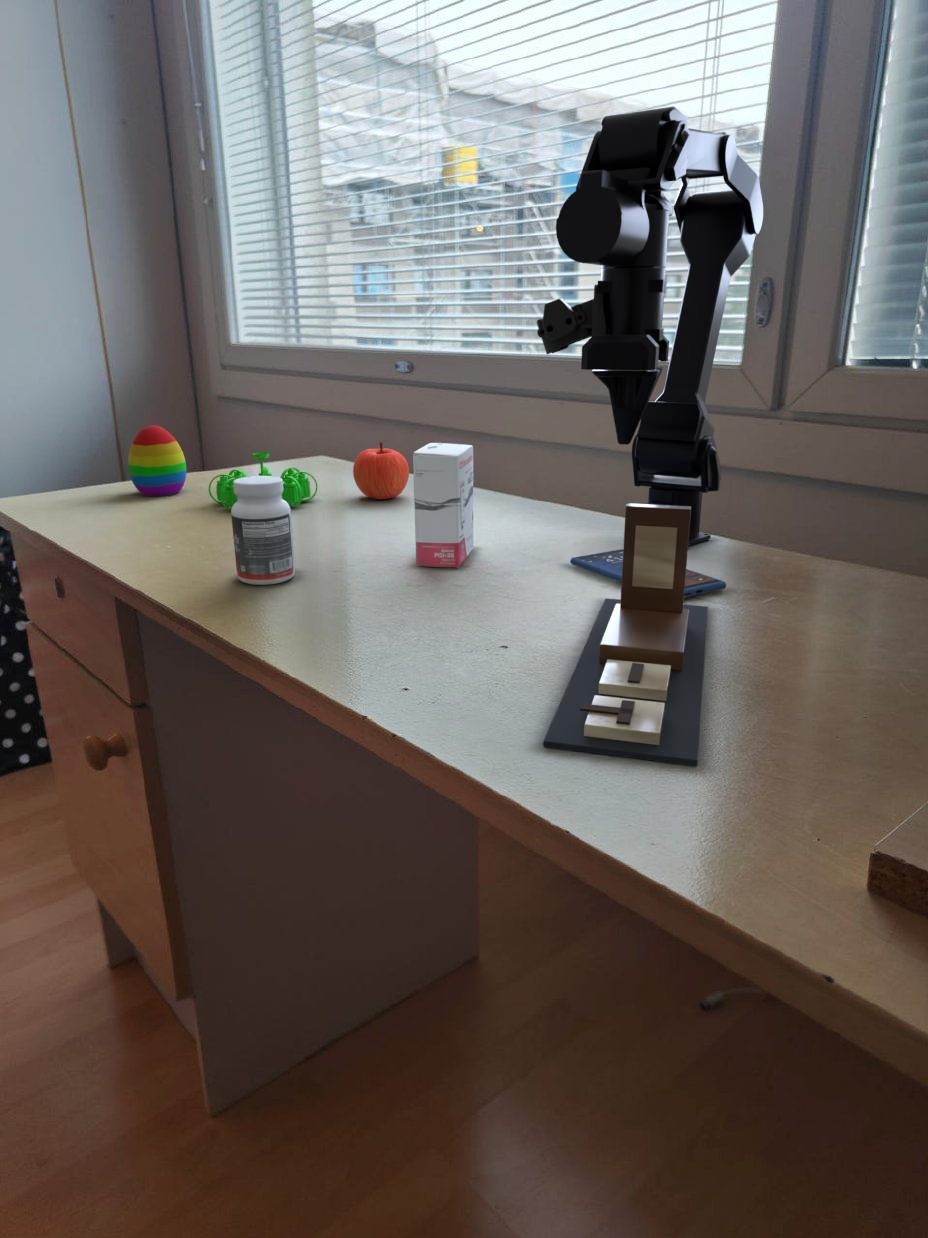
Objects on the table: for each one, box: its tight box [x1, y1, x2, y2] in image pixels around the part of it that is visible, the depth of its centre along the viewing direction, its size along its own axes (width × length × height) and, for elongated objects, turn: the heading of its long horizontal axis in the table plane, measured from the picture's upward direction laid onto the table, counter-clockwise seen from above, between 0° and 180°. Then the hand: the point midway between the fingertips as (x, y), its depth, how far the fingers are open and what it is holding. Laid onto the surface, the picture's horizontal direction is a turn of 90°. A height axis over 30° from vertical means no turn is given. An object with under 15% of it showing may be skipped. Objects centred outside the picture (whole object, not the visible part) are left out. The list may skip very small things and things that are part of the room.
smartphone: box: [570, 548, 727, 598], centre depth 85 cm, size 8×1×15 cm
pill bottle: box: [230, 475, 296, 586], centre depth 85 cm, size 6×6×10 cm
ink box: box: [412, 442, 474, 568], centre depth 91 cm, size 9×5×12 cm, turn 168°
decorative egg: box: [127, 424, 187, 497], centre depth 128 cm, size 8×8×10 cm
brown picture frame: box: [599, 502, 691, 671], centre depth 65 cm, size 10×6×10 cm, turn 164°
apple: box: [352, 441, 410, 500], centre depth 124 cm, size 8×8×8 cm
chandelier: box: [208, 452, 318, 510], centre depth 121 cm, size 15×15×7 cm
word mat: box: [542, 598, 709, 767], centre depth 64 cm, size 29×9×1 cm, turn 164°
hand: (624, 443), depth 83 cm, fingers closed
